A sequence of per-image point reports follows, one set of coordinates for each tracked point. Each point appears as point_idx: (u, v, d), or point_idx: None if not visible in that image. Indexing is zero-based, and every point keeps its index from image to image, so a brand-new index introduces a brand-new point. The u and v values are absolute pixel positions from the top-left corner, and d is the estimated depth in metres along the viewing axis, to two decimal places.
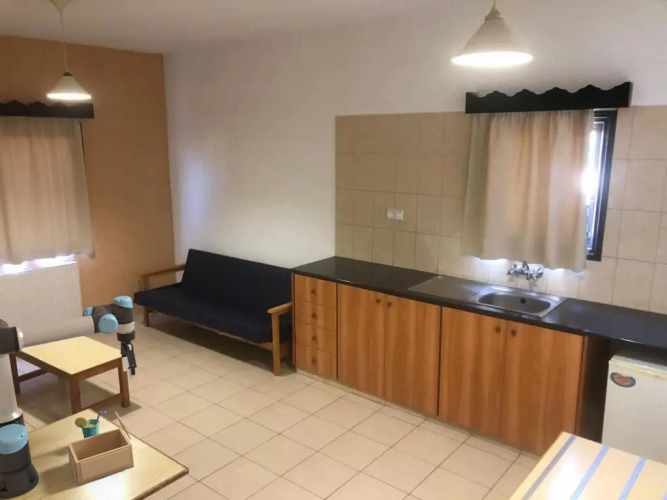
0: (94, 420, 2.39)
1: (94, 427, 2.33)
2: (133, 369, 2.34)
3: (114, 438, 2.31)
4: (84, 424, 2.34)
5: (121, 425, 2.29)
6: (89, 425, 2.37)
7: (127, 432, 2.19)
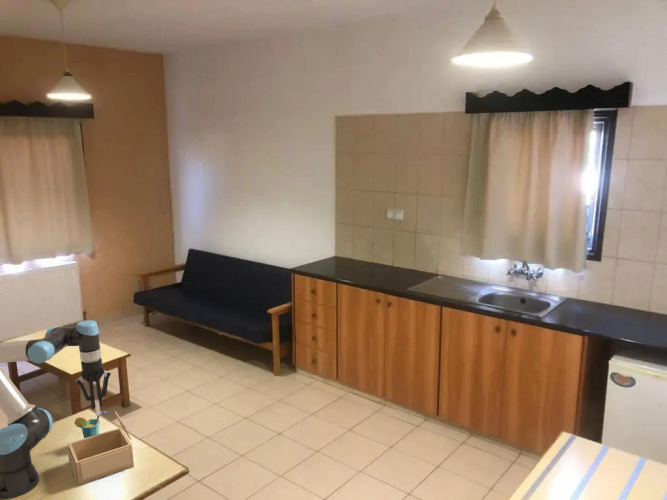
0: (94, 420, 2.39)
1: (94, 427, 2.33)
2: (91, 401, 2.15)
3: (114, 438, 2.31)
4: (84, 424, 2.34)
5: (121, 425, 2.29)
6: (89, 425, 2.37)
7: (127, 432, 2.19)
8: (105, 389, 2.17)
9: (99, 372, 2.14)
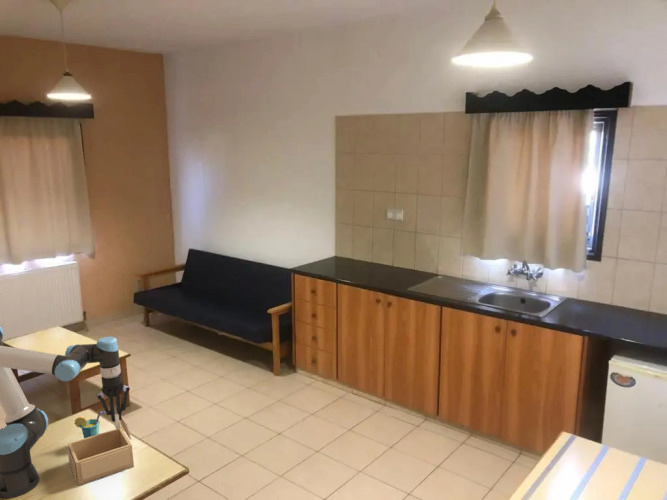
0: (94, 420, 2.39)
1: (94, 427, 2.33)
2: (111, 416, 2.21)
3: (114, 438, 2.31)
4: (84, 424, 2.34)
5: (122, 425, 2.29)
6: (89, 425, 2.37)
7: (128, 431, 2.19)
8: (124, 403, 2.22)
9: (119, 387, 2.20)
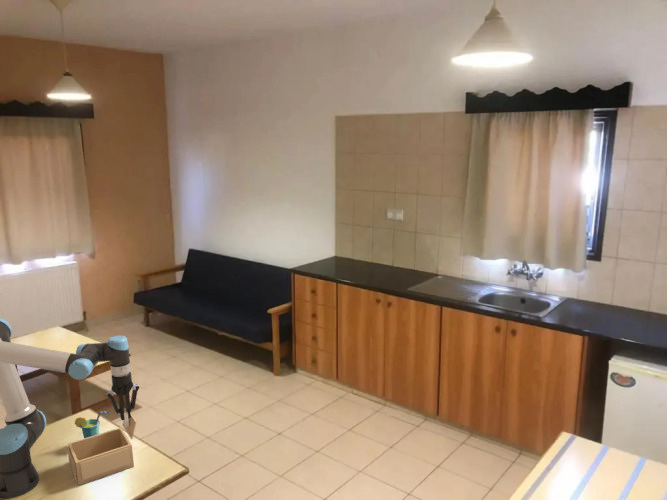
0: (94, 420, 2.39)
1: (94, 427, 2.33)
2: (120, 414, 2.23)
3: (114, 438, 2.31)
4: (84, 424, 2.34)
5: None
6: (89, 425, 2.37)
7: None
8: (134, 402, 2.24)
9: (128, 385, 2.22)
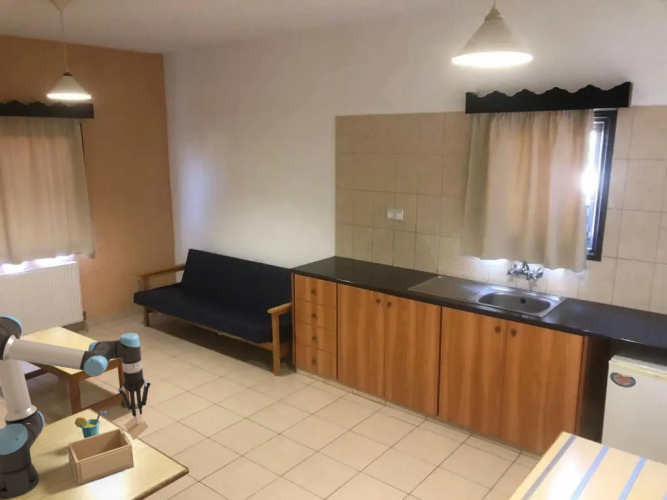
0: (94, 420, 2.39)
1: (94, 427, 2.33)
2: (132, 410, 2.25)
3: (114, 438, 2.31)
4: (84, 424, 2.34)
5: (128, 425, 2.30)
6: (89, 425, 2.37)
7: (140, 433, 2.22)
8: (145, 398, 2.27)
9: (140, 382, 2.25)
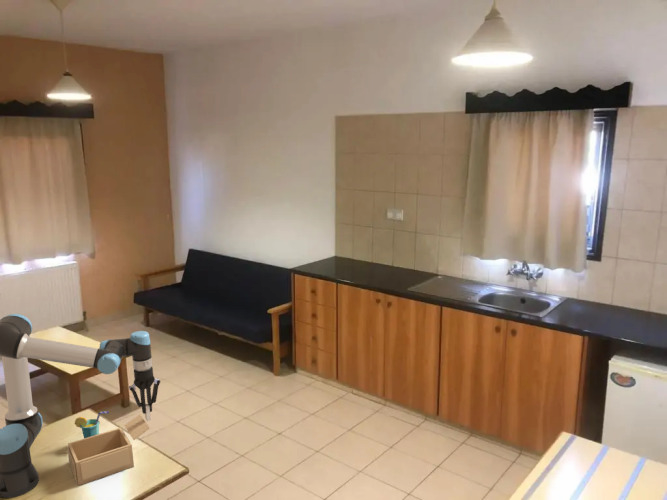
0: (94, 420, 2.39)
1: (94, 427, 2.33)
2: (142, 407, 2.28)
3: (114, 438, 2.31)
4: (84, 424, 2.34)
5: (128, 425, 2.31)
6: (89, 425, 2.37)
7: (141, 434, 2.22)
8: (155, 396, 2.29)
9: (150, 380, 2.27)
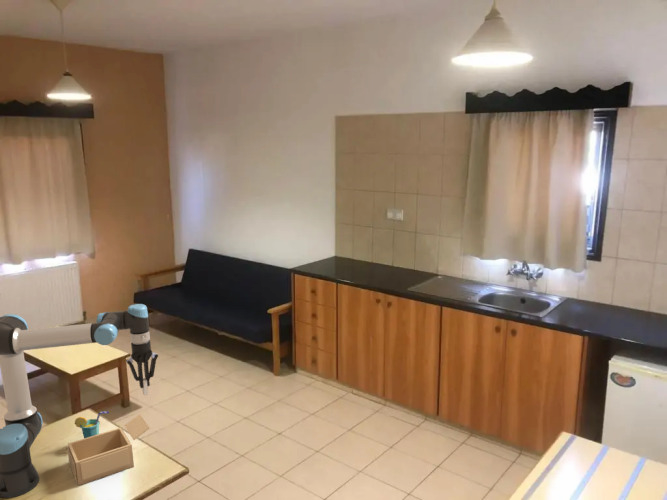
0: (94, 420, 2.39)
1: (94, 427, 2.33)
2: (139, 382, 2.25)
3: (114, 438, 2.31)
4: (84, 424, 2.34)
5: (128, 425, 2.31)
6: (89, 425, 2.37)
7: (141, 434, 2.22)
8: (153, 370, 2.27)
9: (148, 354, 2.25)
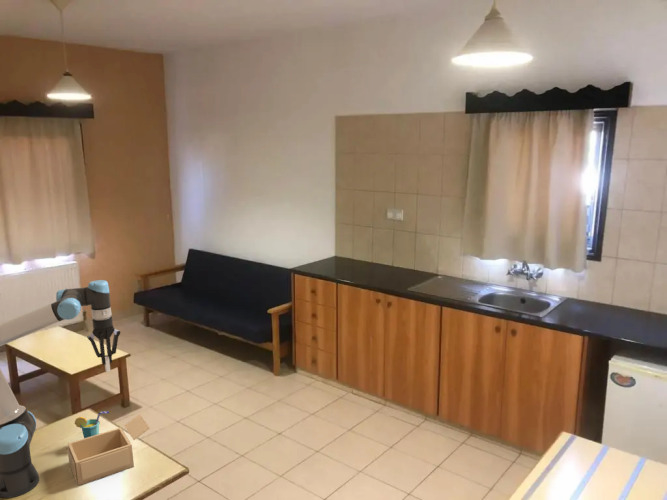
0: (94, 420, 2.39)
1: (94, 427, 2.33)
2: (101, 358, 2.25)
3: (114, 438, 2.31)
4: (84, 424, 2.34)
5: (128, 425, 2.31)
6: (89, 425, 2.37)
7: (141, 434, 2.22)
8: (115, 347, 2.26)
9: (109, 330, 2.24)
